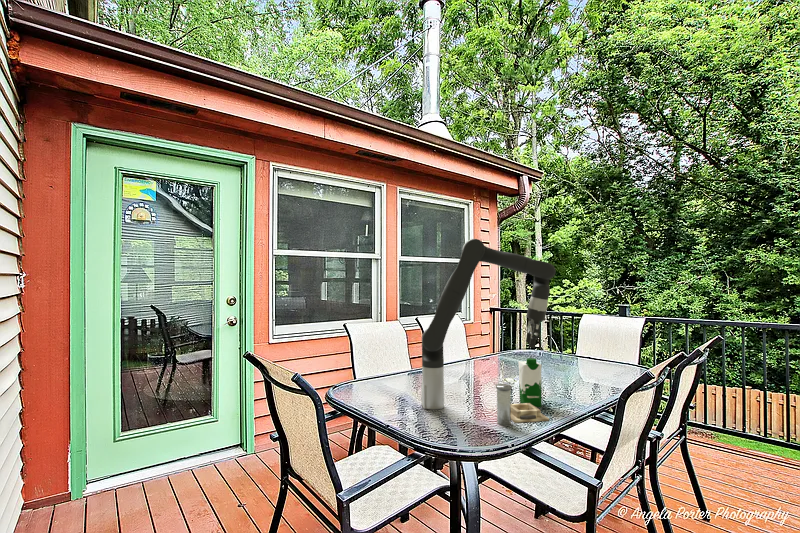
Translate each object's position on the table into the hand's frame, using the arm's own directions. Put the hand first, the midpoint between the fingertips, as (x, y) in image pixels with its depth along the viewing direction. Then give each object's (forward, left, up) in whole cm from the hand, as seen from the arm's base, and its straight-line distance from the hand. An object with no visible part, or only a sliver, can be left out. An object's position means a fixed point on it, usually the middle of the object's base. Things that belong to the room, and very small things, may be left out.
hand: (530, 344), depth 177 cm
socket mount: (-9, -12, -26) cm, 30 cm away
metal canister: (-20, -19, -26) cm, 38 cm away
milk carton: (0, +1, -26) cm, 26 cm away
